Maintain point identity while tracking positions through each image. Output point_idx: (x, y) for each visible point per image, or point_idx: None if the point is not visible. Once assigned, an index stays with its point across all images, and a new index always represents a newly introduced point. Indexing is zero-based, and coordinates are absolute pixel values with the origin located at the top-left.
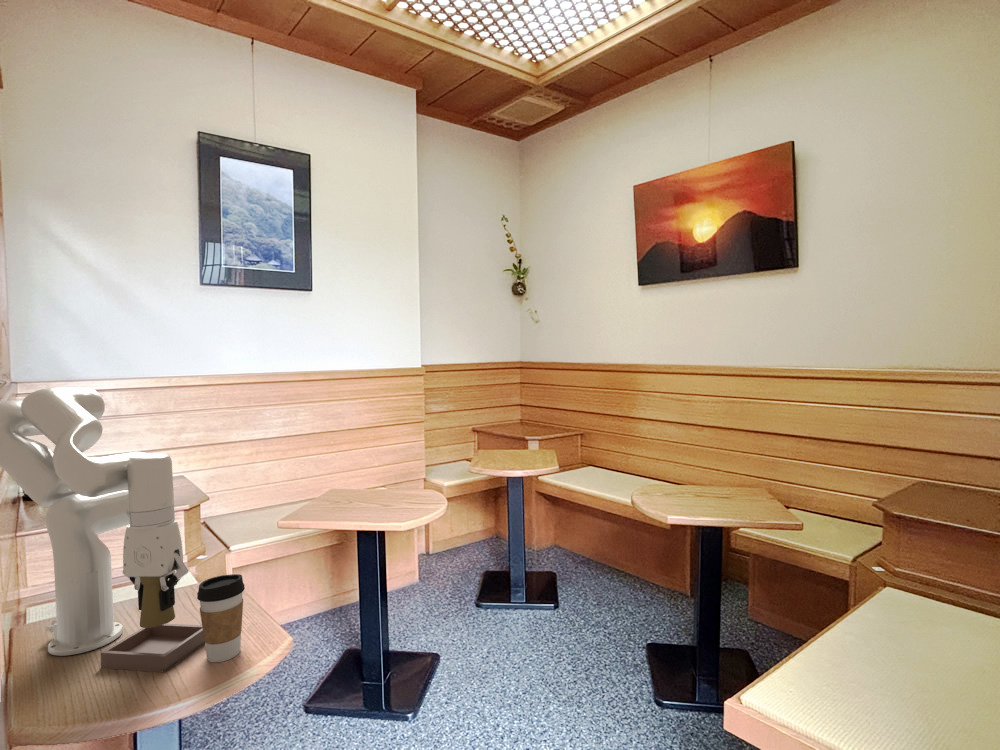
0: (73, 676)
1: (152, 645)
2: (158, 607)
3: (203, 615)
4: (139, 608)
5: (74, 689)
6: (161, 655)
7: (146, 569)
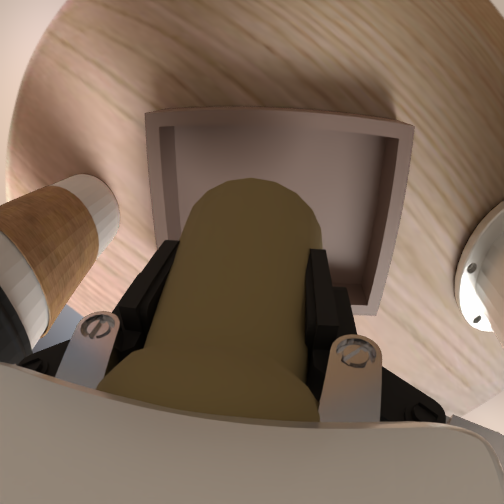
0: (442, 82)
1: None
2: (182, 246)
3: (1, 218)
4: (320, 252)
5: (379, 14)
6: (159, 116)
7: (88, 482)
